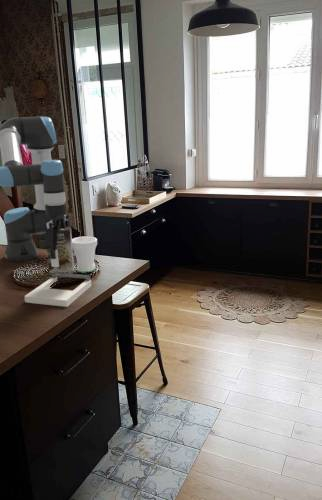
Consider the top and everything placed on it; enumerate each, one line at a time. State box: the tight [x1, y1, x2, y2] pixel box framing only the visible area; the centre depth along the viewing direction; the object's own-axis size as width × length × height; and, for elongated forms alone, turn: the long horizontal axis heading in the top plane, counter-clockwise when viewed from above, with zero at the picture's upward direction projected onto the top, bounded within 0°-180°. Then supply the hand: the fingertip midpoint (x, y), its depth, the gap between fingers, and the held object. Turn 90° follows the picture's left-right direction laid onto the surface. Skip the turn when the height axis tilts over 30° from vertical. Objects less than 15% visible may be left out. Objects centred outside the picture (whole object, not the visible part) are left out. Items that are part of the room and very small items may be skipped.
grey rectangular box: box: [44, 226, 75, 274], centre depth 160 cm, size 9×6×16 cm
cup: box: [72, 235, 98, 274], centre depth 182 cm, size 11×11×14 cm
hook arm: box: [51, 272, 91, 281], centre depth 169 cm, size 1×16×4 cm, turn 74°
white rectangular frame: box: [24, 276, 92, 308], centre depth 161 cm, size 20×17×2 cm
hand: (61, 262), depth 161 cm, fingers closed on grey rectangular box, 8 cm apart
